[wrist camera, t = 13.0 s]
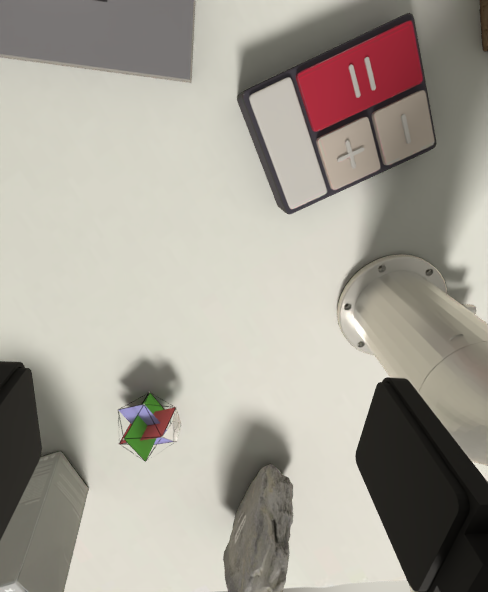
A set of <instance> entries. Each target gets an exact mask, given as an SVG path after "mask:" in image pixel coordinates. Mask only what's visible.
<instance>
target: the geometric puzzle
mask: <svg viewBox="0 0 488 592" xmlns="http://www.w3.org/2000/svg"><path fill="white" fill-rule="evenodd" d="M147 394H148V395H147V397H146V398H145V400H144V401H143V403H142V404H141V405H137V406H132V407H127V408H123V407H122V408H123V409H121V408H120V409H118V413H119V411H120V412H121V413H122V414H123V416H124V417H125V418H126V419H127V420H128V421H129V422H130V425H129V427H128V429H127V430H126V432H125V434H124V436H123V437H122V439H121V441H120V443H118V444H123V443H128V444H129V445H130V446H131V447H132V448H133V449H134V450H135V451H136V452H137V454H138V455H139V456H140V457H141V458H142V460H144V461H145V462H146V460H147V459H148V458H147V457H148V455H149V453H150V451H151V449H152V447H153V445H155V444H162V443H169V442H174V443H175V442H177V438H178V434H179V431H180V427H181V422H180V419H179V416H178V412H177V409H176V407H174V408H170V409H165V410H164V408H163V407H162V406H161V405H160V404H159V403H158V401H157V400H156V399H155V398H154V397H153V396H152V393H150V392H149V393H147ZM156 397H157V396H156ZM140 398H141V397H140ZM158 398H159V397H158ZM138 399H139V398H138ZM136 400H137V399H136ZM163 401H164V400H163ZM165 402H166V401H165ZM131 403H132V402H131ZM129 404H130V403H129ZM127 405H128V404H127ZM170 405H171V404H170ZM172 406H173V405H172ZM165 407H169V406H165ZM174 411H175V414H174V419H173V422H172V423H171V421H170V420H171V417H172V415H173V413H174ZM119 418H120V415H119V417H118V424H119ZM169 422H170V423H171V425H170V426H169V428H168V429H167V430H166V428H167V426H168V424H169ZM120 423H121V421H120ZM121 429H122V426H121ZM122 434H123V431H122ZM171 445H172V444H171ZM121 446H122V445H121ZM156 446H157V445H156ZM156 446H155V447H156ZM124 448H125V447H124ZM154 449H155V448H154ZM154 449H153V450H154ZM127 450H128V449H127ZM130 452H131V451H130ZM152 452H153V451H152ZM152 452H151V453H152ZM133 454H134V453H133ZM150 455H151V454H150ZM150 455H149V456H150ZM136 456H137V455H136ZM140 457H139V458H140ZM148 460H149V459H148Z"/></svg>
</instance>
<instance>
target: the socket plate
mask: <svg viewBox="0 0 488 592" xmlns="http://www.w3.org/2000/svg"><path fill="white" fill-rule="evenodd" d="M194 17H195V0H0V57H3V58H10V59H18V60H25V61H33V62H40V63H48V64H55V65H62V66H70V67H77V68H85V69H92V70H100V71H107V72H115V73H122V74H130V75H137V76H144V77H152V78H159V79H167V80H174V81H182V82H189V83H191V78H192V58H193V37H194Z"/></svg>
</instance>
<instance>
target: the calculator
mask: <svg viewBox="0 0 488 592" xmlns="http://www.w3.org/2000/svg"><path fill="white" fill-rule="evenodd" d="M237 101H238V104H239V107H240V109H241V112H242V114H243V117H244V120H245V122H246V125H247V127H248V130H249V133H250V135H251V138H252V140H253V143H254V146H255V148H256V151H257V153H258V156H259V159H260V161H261V164H262V166H263V169H264V172H265V174H266V177H267V179H268V182H269V185H270V187H271V190H272V192H273V195H274V198H275V200H276V203H277V205H278V207H280V208H281V209H282V210H283V211H284V212H285V213H287V214H292V213H294V212H297V211H299V210H301V209H303V208H305V207H307V206H310V205H312V204H314V203H316V202H318V201H320V200H323V199H325V198H327V197H329V196H331V195H334V194H336V193H338V192H340V191H342V190H344V189H347V188H349V187H351V186H353V185H355V184H357V183H360V182H362V181H364V180H366V179H368V178H371V177H373V176H375V175H377V174H379V173H381V172H384V171H386V170H388V169H390V168H392V167H394V166H397V165H399V164H401V163H403V162H405V161H408V160H410V159H412V158H414V157H416V156H418V155H421V154H423V153H425V152H427V151H429V150H431V149H433V148H434V147H435V146H436V138H435V132H434V127H433V121H432V116H431V110H430V105H429V99H428V94H427V88H426V83H425V77H424V72H423V66H422V61H421V55H420V50H419V44H418V39H417V33H416V28H415V22H414V18H413V15H412V14H410V13H407V14H405V15H403V16H400V17H398V18H396V19H394V20H392V21H390V22H388V23H386V24H384V25H382V26H379V27H377V28H375V29H373V30H371V31H369V32H367V33H365V34H363V35H361V36H358V37H356V38H354V39H352V40H350V41H348V42H346V43H344V44H342V45H340V46H337V47H335V48H333V49H331V50H329V51H327V52H325V53H323V54H321V55H319V56H316V57H314V58H312V59H310V60H308V61H306V62H304V63H302V64H300V65H298V66H295V67H293V68H291V69H289V70H287V71H285V72H283V73H281V74H279V75H277V76H274V77H272V78H270V79H268V80H266V81H264V82H262V83H260V84H258V85H256V86H253V87H251V88H249V89H247V90H245V91H244V92H242V93H240V94H239V95H238V97H237Z"/></svg>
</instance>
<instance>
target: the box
mask: <svg viewBox="0 0 488 592" xmlns="http://www.w3.org/2000/svg"><path fill="white" fill-rule="evenodd" d="M480 20H481V31H482V33H481V34H482V35H481V36H482V45H483V51H488V0H480Z"/></svg>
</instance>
